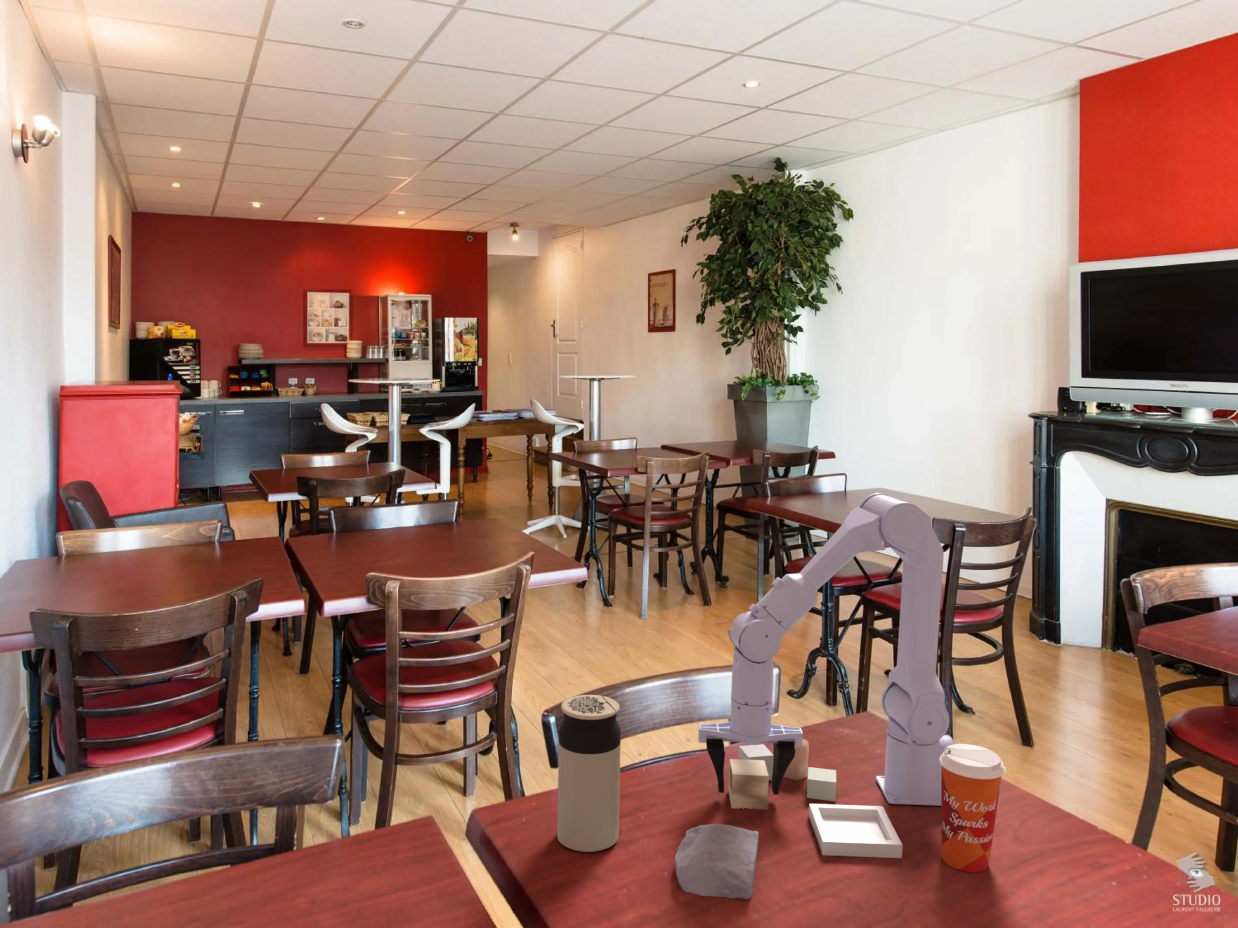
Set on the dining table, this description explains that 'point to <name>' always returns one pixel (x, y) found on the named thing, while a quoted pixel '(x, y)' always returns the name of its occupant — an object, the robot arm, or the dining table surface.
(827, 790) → the sage block
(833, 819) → the white square tray
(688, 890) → the stone block
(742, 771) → the beech cube
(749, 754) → the grey block
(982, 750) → the paper cup
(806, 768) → the terracotta cylinder
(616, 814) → the travel mug
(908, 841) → the dining table surface
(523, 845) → the dining table surface
